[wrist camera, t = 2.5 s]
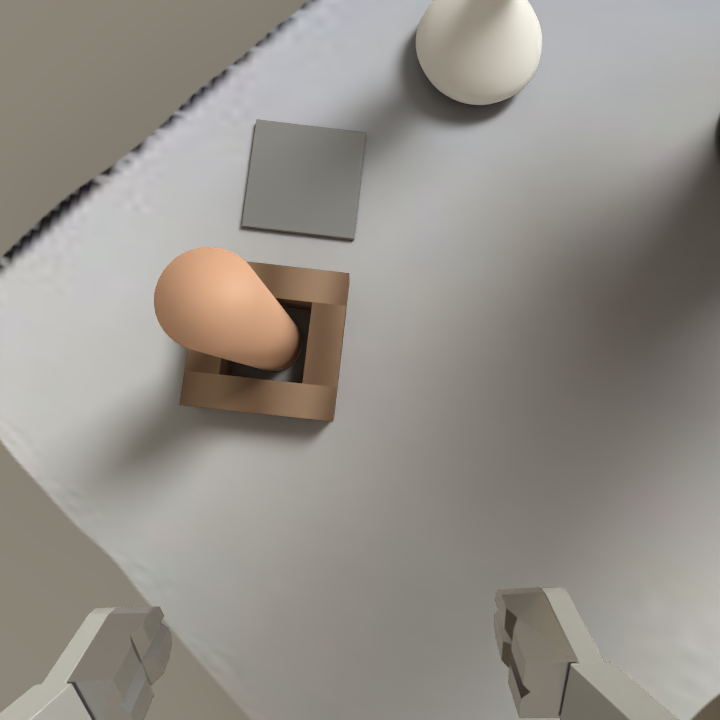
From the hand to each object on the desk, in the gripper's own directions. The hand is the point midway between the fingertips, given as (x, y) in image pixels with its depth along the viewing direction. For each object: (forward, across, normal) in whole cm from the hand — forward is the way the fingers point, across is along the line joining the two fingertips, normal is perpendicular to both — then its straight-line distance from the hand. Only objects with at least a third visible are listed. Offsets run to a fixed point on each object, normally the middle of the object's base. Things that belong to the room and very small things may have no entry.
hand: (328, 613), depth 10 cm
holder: (+26, +7, +2) cm, 27 cm away
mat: (+33, +4, -11) cm, 35 cm away
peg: (+26, +7, +2) cm, 27 cm away
